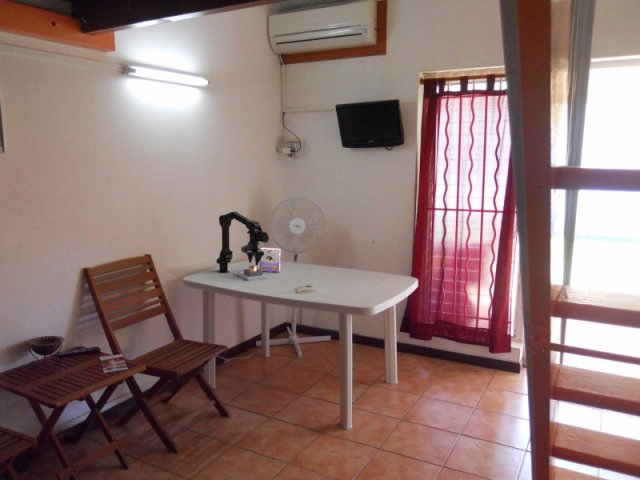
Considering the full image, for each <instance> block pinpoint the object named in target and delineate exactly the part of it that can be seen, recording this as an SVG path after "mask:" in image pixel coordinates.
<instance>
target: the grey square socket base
mask: <svg viewBox="0 0 640 480" xmlns="http://www.w3.org/2000/svg"><path fill="white" fill-rule="evenodd" d="M236 274H237V276H238V277H240V278H242V279H244V280H246V281H248V282H250V281H251V282H252V281H259V280H267V275H265V274H263V272H262V271H261V270H260V268H259V269H258V268H257V271H256V272H250V271H249V268H247V269H243V271H238V272H237V273H236Z"/></svg>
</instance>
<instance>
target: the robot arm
mask: <svg viewBox="0 0 640 480" xmlns="http://www.w3.org/2000/svg"><path fill="white" fill-rule="evenodd" d="M233 220H235V221H238V222H239V223H240V224H242V225H244V226H245V228H247V229H248V231H246V234H249V239H248V242H247V244H245V245H244V246H241V247H240V249H241V252H242V253H243V254H245V255H247V258H248V263H250V264H251V263H252V261H253V258H254V259H255V261H254V262H255V265H256V266H258V265H259V264H260V259H261V258H262V256H263V255H264V252H263V251H261V250H260V248H259V245H260V243H267V242H269V240H270V237H269V234H268V231H264V230H263V229H262V226H261V224H260V222H259V221H256V220H253V219H249V218H248V217H246V216H244V215H243V214H241V213H238V211H231V212H229V213H228V212H227V213H225V214H222V215H219V217H218V223H219V226H220V227H221V249H220V250H221V251H220V252H219V257H217V259H216V264H219V269H217V272H219V273H221V274H222V273H230V270H229V269H228V268H229V267H228V266H229V263H231V261H232V260H233V250H231V249H230V228H231V225H232V221H233Z"/></svg>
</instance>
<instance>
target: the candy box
mask: <svg viewBox="0 0 640 480" xmlns="http://www.w3.org/2000/svg"><path fill="white" fill-rule="evenodd" d="M259 250H261V251H263V252H264V255H263V256H262V258H261V259H260V261H259V270H261V271H262V273H280V272H281V254H282V253H281V251H282V249H281V248H277V247H261V248H259Z"/></svg>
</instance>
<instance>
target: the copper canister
mask: <svg viewBox="0 0 640 480" xmlns="http://www.w3.org/2000/svg"><path fill="white" fill-rule="evenodd" d="M248 269H249V271H250V272H256V271H257V269H258V265H256V264H253V265H252V264H251V265H249V268H248Z"/></svg>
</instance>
